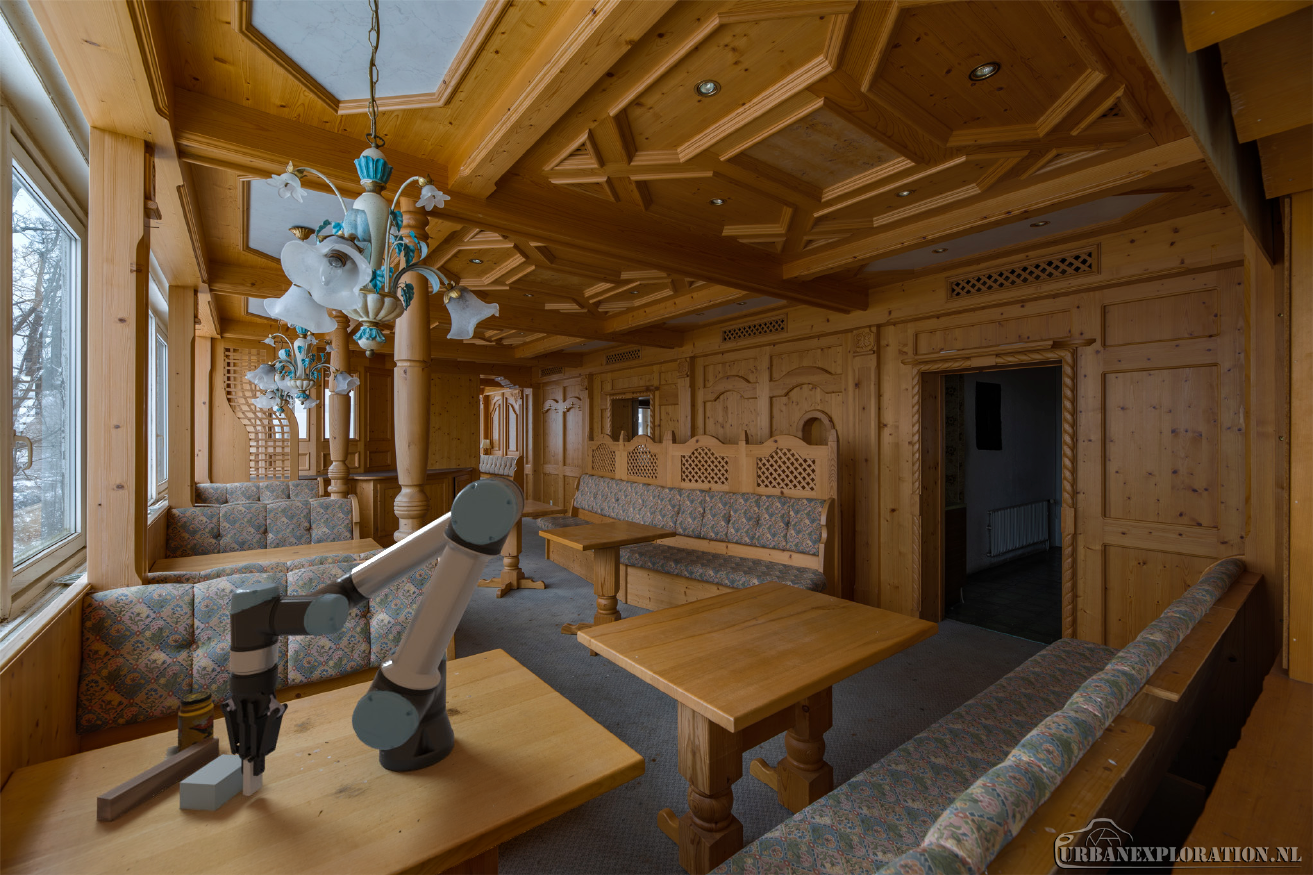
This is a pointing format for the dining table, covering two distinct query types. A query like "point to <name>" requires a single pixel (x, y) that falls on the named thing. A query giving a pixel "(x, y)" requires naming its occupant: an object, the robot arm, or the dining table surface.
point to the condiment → (194, 721)
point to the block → (212, 784)
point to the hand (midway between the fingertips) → (252, 790)
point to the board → (156, 779)
